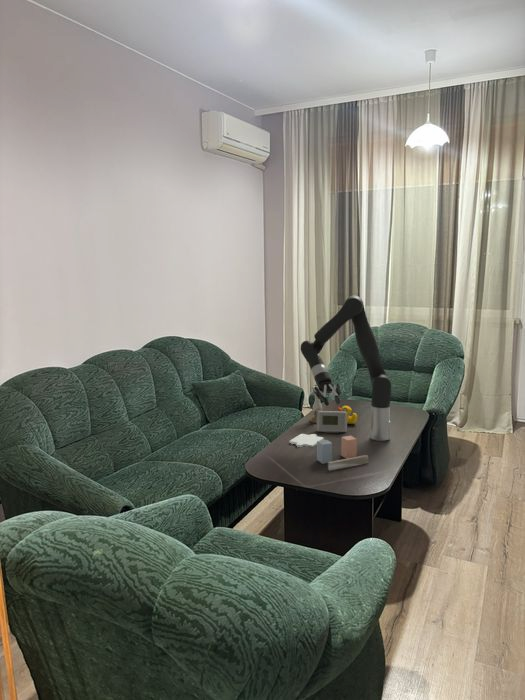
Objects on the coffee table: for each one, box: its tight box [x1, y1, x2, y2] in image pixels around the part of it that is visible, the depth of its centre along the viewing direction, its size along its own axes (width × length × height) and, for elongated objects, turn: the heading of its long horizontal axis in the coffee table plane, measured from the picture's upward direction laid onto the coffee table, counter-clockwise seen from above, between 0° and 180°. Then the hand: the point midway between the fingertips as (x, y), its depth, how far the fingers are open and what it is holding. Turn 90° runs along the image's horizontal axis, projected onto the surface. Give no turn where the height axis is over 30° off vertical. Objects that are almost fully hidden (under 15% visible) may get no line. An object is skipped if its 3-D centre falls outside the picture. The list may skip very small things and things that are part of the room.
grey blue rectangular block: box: [316, 439, 333, 465], centre depth 244 cm, size 5×5×9 cm
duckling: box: [337, 405, 358, 425], centre depth 300 cm, size 11×5×10 cm, turn 61°
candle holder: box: [309, 384, 323, 424], centre depth 304 cm, size 9×9×20 cm
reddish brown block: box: [340, 435, 358, 459], centre depth 249 cm, size 5×5×9 cm
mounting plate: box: [289, 433, 325, 448], centre depth 272 cm, size 18×13×2 cm
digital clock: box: [316, 410, 348, 433], centre depth 288 cm, size 16×9×11 cm, turn 72°
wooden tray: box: [327, 454, 369, 472], centre depth 244 cm, size 14×20×4 cm
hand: (333, 404), depth 259 cm, fingers open, 5 cm apart
